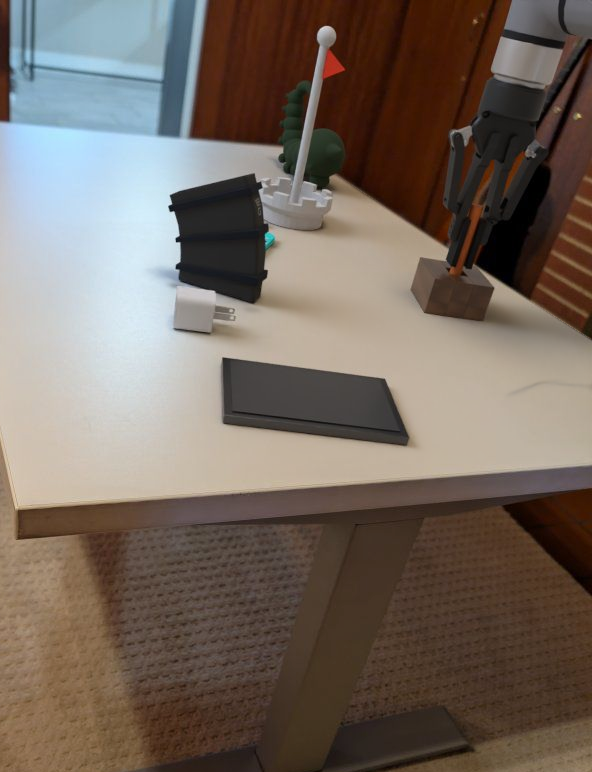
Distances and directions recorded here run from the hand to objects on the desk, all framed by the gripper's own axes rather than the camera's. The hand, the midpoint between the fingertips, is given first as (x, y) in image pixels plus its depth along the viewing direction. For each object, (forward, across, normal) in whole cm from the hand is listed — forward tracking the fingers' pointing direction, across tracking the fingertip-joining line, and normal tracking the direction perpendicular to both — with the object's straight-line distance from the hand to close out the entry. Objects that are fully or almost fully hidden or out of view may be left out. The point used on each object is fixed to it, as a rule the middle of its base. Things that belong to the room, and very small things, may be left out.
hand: (458, 264), depth 105 cm
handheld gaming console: (+6, +30, -12) cm, 33 cm away
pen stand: (+6, 0, 0) cm, 6 cm away
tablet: (+6, +24, +34) cm, 42 cm away
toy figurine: (+6, +14, -63) cm, 65 cm away
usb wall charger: (+6, +35, +19) cm, 40 cm away
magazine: (+6, +34, +6) cm, 35 cm away
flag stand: (+6, +20, -31) cm, 37 cm away
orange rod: (+6, 0, 0) cm, 6 cm away
